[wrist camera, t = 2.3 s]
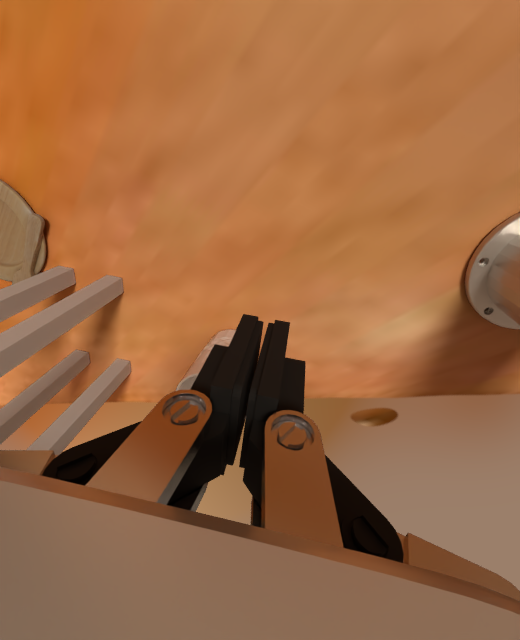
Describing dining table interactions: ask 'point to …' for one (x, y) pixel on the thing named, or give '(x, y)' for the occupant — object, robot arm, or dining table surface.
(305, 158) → the dining table surface
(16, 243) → the tableware set
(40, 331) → the grey tall stool
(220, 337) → the white cup
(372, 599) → the robot arm
